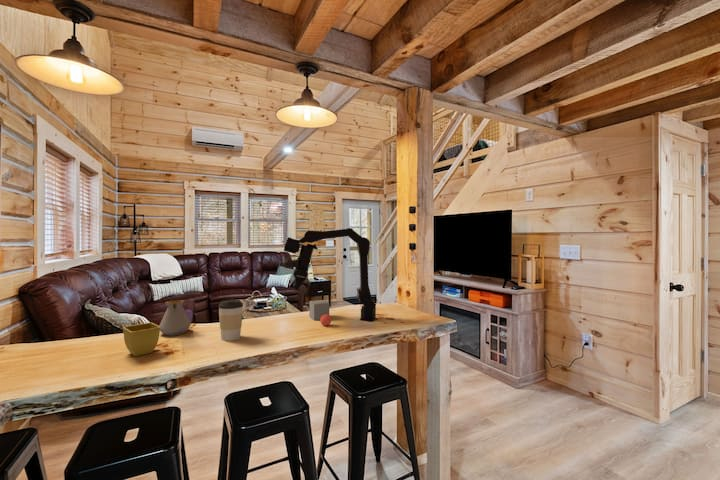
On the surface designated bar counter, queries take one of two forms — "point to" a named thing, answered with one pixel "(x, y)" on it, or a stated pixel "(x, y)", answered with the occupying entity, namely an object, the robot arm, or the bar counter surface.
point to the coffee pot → (174, 319)
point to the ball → (325, 320)
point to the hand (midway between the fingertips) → (296, 288)
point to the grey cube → (318, 309)
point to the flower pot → (141, 338)
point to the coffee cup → (230, 319)
